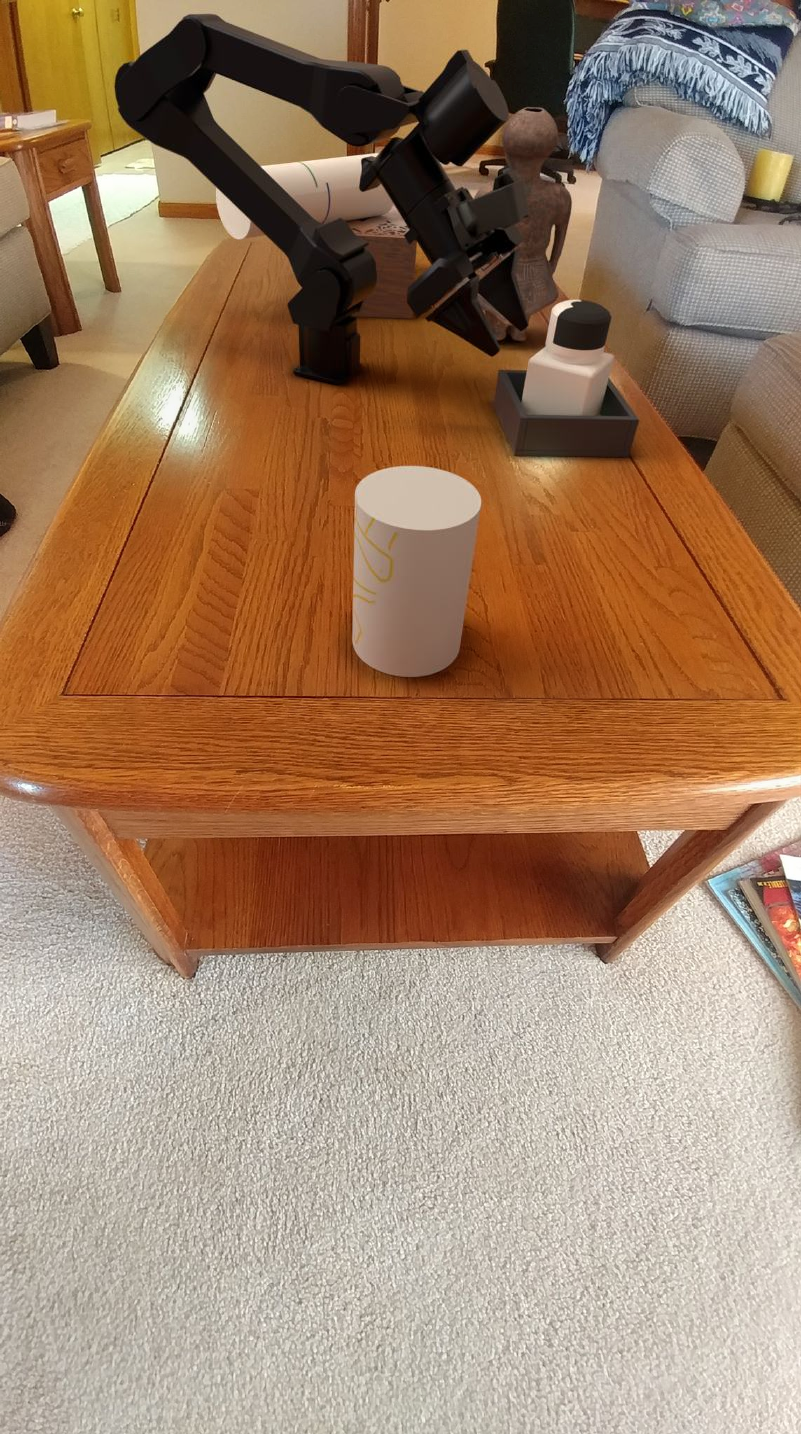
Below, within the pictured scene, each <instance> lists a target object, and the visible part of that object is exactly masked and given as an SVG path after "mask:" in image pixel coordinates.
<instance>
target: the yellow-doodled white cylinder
mask: <svg viewBox="0 0 801 1434" xmlns="http://www.w3.org/2000/svg"><path fill="white" fill-rule="evenodd" d="M481 508H482V497H481V494H480V493H479V491H478V489H477V488H476V487H475V486H474V485H473V484H472V483H471V482H469V481H468V480H466V478H464V477H461V476H460V475H458V474H455V473H453V472H451V471H447V470H443V469H440V468H435V467H431V466H423V465H421V466H420V465H400V466H399V465H398V466H392V467H391V466H390V467H387V468H382V469H379V470H377V471H374V472H372V473H370V474H368V475H366V476H364V477H363V478H362V479H361V480H360V481H359V482H358V484H357V485H356V487H355V491H354V522H353V524H354V525H353V527H354V529H353V580H352V582H353V583H352V584H353V585H352V586H353V587H352V635H351V636H352V637H351V640H352V646H353V650H354V651H355V653H356V655H357V657H359V658H360V660H361V661H363V663H365V664H366V665H367V666H368V667H370V668H372V669H374V670H376V671H378V672H381V673H384V674H386V675H390V676H395V677H401V678H402V677H403V678H418V677H419V678H420V677H425V676H430V675H434V674H436V673H438V672H440V671H443V670H444V669H446V668H447V667H449V666H450V665H452V663H453V662H454V661H455V660H456V659H457V657H458V655H459V653H460V650H461V649H460V648H461V642H462V635H463V628H464V622H465V616H466V615H465V614H466V608H467V601H468V595H469V588H470V581H471V577H472V576H471V575H472V569H473V562H474V555H475V549H476V548H475V547H476V541H477V535H478V528H479V522H480V515H481Z"/></svg>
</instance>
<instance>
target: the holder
mask: <svg viewBox="0 0 801 1434" xmlns="http://www.w3.org/2000/svg"><path fill="white" fill-rule="evenodd" d="M526 374H527V369H525V370H523V369H522V370H521V369H498V371H497V377H496V383H495V391H494V398H493V404H492V407H493V409H494V411H495V414H496V416H497V418H498V420H499V423H500V425H501V427H502V430H503V432H504V434H505V437H506V440H507V441H508V445H509V446H510V449H511V451H512V453H513V456H516V457H518V456H520V457H525V456H526V457H587V458H588V457H593V458H594V457H595V458H597V457H603V458H629V457H630V454H631V450H632V446H633V444H634V440H635V436H636V433H637V430H638V427H639V423H640V419H639V417H638V416H637V414H636V413H635V411H634V410H633V409H632V407H631V406H630V405H629V403H628V402H627V400H626V399H625V398H624V396H623V395H622V393H621V392H620V390H619V389H618V388H617V386H616V385H615V384H614V383H613V381H612V379H611V378H610V377H609V379H608V383H607V387H606V391H605V395H604V399H603V403H602V407H601V411H600V415H599V416H578V415H527V414H526V412H525V410H524V408H523V406H522V404H521V402H522V396H523V391H524V385H525V379H526Z"/></svg>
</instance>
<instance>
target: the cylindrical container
mask: <svg viewBox="0 0 801 1434" xmlns="http://www.w3.org/2000/svg"><path fill="white" fill-rule="evenodd" d="M379 153H380V152H374V153H366V154H357V155H349V156H348V155H347V156H339V157H329V158H322V159H313V160H304V161H295V162H285V163H278V164H277V163H276V164H269V165H260V166H261V167H262V168H263V169H264V170H265V171H266V172H267V173H268V174H269V175H270V176H271V177H272V178H273V179H274V180H275V181H276V182H277V183H278V184H279V185H280V186H281V187H282V188H283V189H284V190H285V191H286V192H287V193H288V194H289V195H290V196H291V197H292V198H293V199H294V200H295V201H296V202H297V203H298V204H299V205H300V206H301V207H302V208H303V209H304V210H305V211H306V212H307V213H308V214H309V215H310V216H311V217H312V218H314V219H315V220H316V221H318V222H320V223H322V224H326V223H328V222H331V221H333V220H336V219H338V218H342V219H343V220H344V221H350V220H356V219H362V218H367V217H373V216H379V215H384V214H386V213H388V212H389V211H390V210H391V209H392V207H393V205H394V204H393V202H392V200H391V199H390V197H389V196H388V194H387V192H386V191H385V189H384V187H383V186H382V184H380V185H379V187H377V188H374V189H371V190H368V191H365V192H361V191H360V189H359V183H360V176H361V171H362V166H361V159H362V158H365V157H369V156H373V157H376V156H377V155H378V154H379ZM215 202H216V208H217V212H218V216H219V218H220V221H221V223H222V225H223V227H224V229H225V230H226V232H227V233H228V234H229V235H230V236H231V237H232V238H233V239H236V240H245V239H251V238H258V237H262V236H266V235H265V234H264V233H263V232H262V231H261V230H260V229H259V228H258V227H257V226H256V225H255V224H254V223H253V222H251V221H250V220H249V219H248V218H247V217H246V216H245V215H244V214H243V213H242V212H241V211H240V210H239V209H238V208H237V207H236V206H235V205H234V204H233V203H232V202H231V201H230V200H229V199H228V198H227V197H226V196H225V195H224V194H223V193H221V192H220V191H219V190H218V189H217V188H216V187H215Z"/></svg>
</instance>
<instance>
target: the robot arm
mask: <svg viewBox="0 0 801 1434" xmlns="http://www.w3.org/2000/svg"><path fill="white" fill-rule="evenodd" d="M217 75H219V76H221V77H224V78H226V79H228V80H231V81H234V82H236V83H239V84H241V85H244V86H245V87H249V88H251V89H254V90H255V91H259V92H262V93H263V94H267V95H269V96H271V97H273V98H277V99H278V100H281V101H284V102H286V103H288V104H292V105H294V106H296V107H299V108H300V109H301V110H304V111H305V112H307V113H308V114H309V115H310V116H311V117H312V118H313V119H314V121H316V122H317V123H318V125H320V126H321V127H322V128H323V129H325V130H326V131H328V132H329V133H330V134H332V135H333V136H335V137H336V138H338V139H340V140H341V141H342V142H344V143H345V144H347V145H349V146H351V147H358V148H359V147H365V146H369V145H371V144H375V143H378V142H382V141H385V140H387V139H390V140H389V141H388V142H387V143H386V144H385V146H384V147H383V148H382V149H381V150H380V151H379V152H378V153H379V154H378V155H377V156H376V157H373V156H369V157H365V158H362V159H361V166H362V171H361V176H360V183H359V189H360V191H361V192H365V191H368V190H371V189H374V188H377V187H379V185H380V184H382V186H383V187H384V189H385V191H386V192H387V194H388V196H389V197H390V199H391V200H392V202H393V204H394V205H395V207H396V209H397V210H398V212H399V213H400V215H401V217H402V218H403V220H404V221H405V223H406V225H407V226H408V228H409V230H408V232H407V233H406V234H405V235H404V237H405V238H406V240H407V241H408V243H409V245H410V244H412V243H414V242H416V241H417V245H418V246H419V247H420V249H421V251H422V252H423V254H424V255H425V257H426V259H427V261H428V262H429V264H430V266H429V267H428V268H427V269H425V270H424V272H423V273H422V274H420V275H419V276H418V277H417V278H416V279H415V280H414V282H413V283H412V284H411V285H410V286H409V287H408V290H407V303H408V305H409V306H410V308H411V309H412V314H413V315H414V316H415V317H416V319H420V318H421V317H422V316H424V315H426V314H427V313H429V312H430V311H431V310H432V308H433V309H434V310H433V311H432V312H430V313H429V314H428V315H427V316H426V317H425V320H426V321H427V322H428V323H431V322H433V323H435V324H436V325H437V326H439V327H442V328H443V329H446V330H447V331H449V332H451V333H453V334H454V335H455V336H458V337H459V338H460V339H462V340H464V341H466V342H467V343H469V344H470V345H472V346H473V347H475V348H477V349H478V350H480V351H482V352H483V353H485V354H486V355H487V356H489V357H491V358H493V357H495V356H496V355H497V354H499V353H500V352H501V347H500V345H499V342H498V340H496V338H495V335H494V333H493V331H492V329H491V327H490V324H489V322H488V320H487V318H486V316H485V311H484V310H483V309H482V307H481V305H480V303H479V301H478V293H479V294H480V295H481V296H482V297H483V298H484V299H485V300H486V301H487V302H488V303H489V304H490V305H492V306H493V307H494V308H495V309H496V310H497V311H498V312H499V313H500V314H501V315H502V316H503V317H504V318H506V319H507V320H508V321H509V322H510V323H511V324H512V325H513V326H515V327H516V328H517V329H518V330H519V331H523V330H524V329H526V330H527V329H528V327H529V325H530V323H529V322H530V321H529V322H528V319H527V315H526V311H525V307H524V304H523V300H522V296H521V292H520V288H519V284H518V280H517V275H516V268H517V264H518V260H519V256H520V254H521V252H522V247H520V248H518V249H517V250H515V251H514V252H512V253H511V254H510V252H511V251H512V250H513V249H514V248H515V247H517V246H518V245H519V244H520V243H521V242H522V241H523V240H524V239H523V237H522V236H521V234H520V232H519V230H518V229H517V227H516V225H515V224H516V223H519V222H520V221H522V218H524V217H529V216H530V211H529V206H528V201H527V198H528V197H529V196H530V194H531V190H530V188H529V187H527V186H526V184H525V180H524V179H521V180H520V179H519V177H518V176H517V175H516V173H515V172H514V171H511V172H510V171H508V172H506V173H503V174H501V175H498V176H496V177H495V178H494V180H493V181H494V186H493V191H491V192H488V193H486V194H483V195H481V196H478V197H476V198H474V197H473V196H472V194H471V192H470V190H469V189H468V188H467V187H465V188H464V187H463V186H461V187H458V188H456V187H455V186H454V184H453V182H452V181H451V179H450V177H449V175H448V173H447V172H446V170H445V168H444V167H443V165H444V166H448V165H449V164H450V163H451V164H452V165H454V166H456V167H459V168H460V167H463V166H464V165H465V164H466V163H467V162H468V161H469V160H470V159H471V158H472V157H473V156H474V155H475V154H476V153H477V152H478V151H479V150H480V149H481V148H482V147H483V146H484V145H485V144H486V143H487V142H489V140H490V139H491V138H492V137H493V136H494V135H495V134H496V133H497V132H498V131H499V130H500V129H501V128H502V127H503V126H505V124H506V123H507V122H508V121H509V120H510V113H509V108H508V105H507V101H506V99H505V97H504V94H503V92H502V91H501V88H500V87H499V85H498V83H497V81H496V80H495V79H492V78H491V77H490V75H488V73H487V72H486V70H485V69H484V68H483V67H482V66H481V65H480V64H479V63H478V62H476V61H475V59H473V57H472V55H471V53H470V51H469V49H457V50H456V51H455V53H454V54H453V55H452V56H451V57H450V58H449V60H448V61H447V63H446V64H445V66H444V69H442V72H440V74H439V75H438V76H437V77H436V78H435V79H434V80H433V82H432V83H431V84H430V86H429V87H427V88H426V89H425V91H423V90H418V89H416V88H413V87H410V86H407V85H404V84H403V83H402V80H401V77H400V75H399V74H398V73H397V72H396V71H395V70H393V68H391V67H389V66H387V65H383V64H375V63H367V62H359V61H347V60H334V59H325V58H320V57H318V56H315V55H312V54H310V53H307V52H304V51H302V50H299V49H297V48H294V47H292V46H289V45H286V44H284V43H281V42H279V41H277V40H273V39H271V38H268V37H266V36H263V35H262V34H258V33H255V32H253V31H250V30H248V29H245V28H243V27H240V26H238V25H235V24H233V23H230V22H227V21H226V20H224V19H222V18H221V17H220V16H219V15H218V14H215V13H189V14H187V15H185V16H183V17H182V18H181V20H179V22H177V24H176V25H175V26H174V27H173V28H172V29H171V30H170V32H169V33H167V34H166V35H165V36H164V37H162V38H161V39H160V40H158V41H157V42H156V43H154V44H153V45H152V46H150V47H149V48H148V49H146V50H145V51H143V53H142V54H140V55H139V56H138V57H137V58H136V60H132V61H128V62H124V63H123V64H121V66H119V67H118V70H117V72H116V74H115V77H114V86H113V87H114V95H115V99H116V103H117V106H118V107H117V111H118V113H119V115H120V117H121V119H122V120H123V121H124V122H125V123H126V125H127V127H129V128H131V130H133V131H134V132H136V133H137V134H138V135H140V136H142V137H143V138H144V139H146V140H147V141H149V142H150V143H151V144H152V145H154V146H156V147H159V148H161V149H164V150H166V151H168V152H170V153H174V154H175V155H178V156H180V157H182V158H184V159H185V160H187V161H188V162H189V163H190V164H191V165H192V166H193V167H194V168H195V169H197V170H198V171H199V172H200V173H201V174H202V175H203V177H205V178H206V179H207V180H208V181H209V182H210V183H211V184H212V185H213V186H214V187H215V189H216V188H217V189H218V190H219V191H220V192H221V193H223V194H224V195H225V196H226V197H227V198H228V199H229V200H230V201H231V202H232V203H233V204H234V205H235V206H236V207H237V208H238V209H239V210H240V211H241V212H242V213H243V214H244V215H245V216H246V217H247V218H248V219H249V220H250V221H251V222H253V223H254V224H255V225H256V226H257V227H258V228H259V229H260V230H261V231H262V232H263V233H264V234H265V235H264V236H266V237H267V238H268V239H269V240H270V241H271V242H272V243H273V245H275V246H276V247H277V248H278V249H279V250H280V251H281V252H282V253H283V254H284V255H285V256H286V258H287V259H288V261H289V264H290V267H291V270H292V272H293V275H294V277H295V280H296V282H297V283H298V285H299V286H300V287H301V288H300V290H299V291H297V293H296V294H295V295H294V296H293V297H292V298H291V299H290V300H289V301H288V302H287V308H288V312H289V315H290V318H291V321H292V324H294V325H297V327H298V354H299V356H298V357H299V364H298V365H296V367H294V368H292V373H293V374H294V375H295V376H300V377H304V378H309V379H312V380H316V381H320V382H321V381H322V382H326V383H329V384H334V385H342V384H343V383H345V382H346V381H347V380H349V379H350V378H352V377H353V376H354V375H356V374H357V373H359V371H361V370H362V369H363V363H361V338H362V337H361V334H360V333H359V332H358V318H357V317H355V316H351V315H353V314H354V313H356V312H359V311H361V309H362V306H363V303H364V300H365V299H366V298H367V297H369V296H370V295H371V293H372V292H373V291H374V288H375V286H376V282H377V271H376V262H375V259H374V257H373V256H372V254H371V253H370V252H369V251H368V250H367V249H366V248H365V247H366V246H368V245H369V242H367V241H365V240H362V239H361V238H359V237H358V236H357V235H356V234H355V233H354V232H353V231H352V229H351V228H350V226H349V225H348V224H347V223H346V222H345V221H344V220H343V219H342V218H338V219H336V220H333V221H331V222H328V223H326V224H322V223H320V222H318V221H316V220H315V219H314V218H312V217H311V216H310V215H309V214H308V213H307V212H306V211H305V210H304V209H303V208H302V207H301V206H300V205H299V204H298V203H297V202H296V201H295V200H294V199H293V198H292V197H291V196H290V195H289V194H288V193H287V192H286V191H285V190H284V189H283V188H282V187H281V186H280V185H279V184H278V183H277V182H276V181H275V180H274V179H273V178H272V177H271V176H270V175H269V174H268V173H267V172H266V171H265V170H264V169H263V168H262V167H261V166H262V165H260V164H259V163H258V162H257V161H256V160H255V159H254V158H253V157H252V156H251V155H250V154H249V153H247V151H245V149H244V148H243V147H242V146H241V145H239V144H238V142H236V141H235V140H234V139H233V138H232V137H231V136H230V135H229V134H228V132H226V131H225V130H224V129H223V128H222V127H221V126H220V125H219V123H218V122H217V121H216V120H215V118H214V116H213V114H212V110H211V108H210V106H209V103H208V101H207V98H206V95H205V93H206V92H207V91H208V90H209V89H210V88H211V86H212V84H213V82H214V80H215V77H216V76H217ZM416 123H417V124H416ZM412 124H416V125H415V126H414V128H413V129H412V130H411V131H410V132H409V133H408V134H407V135H406V136H405V137H404V138H403V137H399V136H394V135H396V134H397V133H398V132H399V130H400V129H401V128H402V127H406V126H409V125H412ZM393 136H394V137H393ZM469 279H470V280H469ZM479 280H480V281H479Z"/></svg>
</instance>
